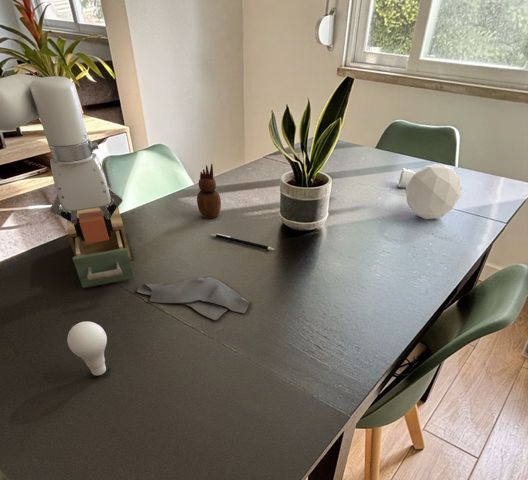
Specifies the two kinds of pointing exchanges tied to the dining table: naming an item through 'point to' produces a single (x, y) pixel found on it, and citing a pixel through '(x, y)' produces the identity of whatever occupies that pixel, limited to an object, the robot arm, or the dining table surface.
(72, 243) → the cabinet
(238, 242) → the pen
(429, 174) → the geometric sphere
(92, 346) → the lightbulb
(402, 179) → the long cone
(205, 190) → the wooden figurine
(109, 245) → the drawer
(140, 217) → the dining table surface
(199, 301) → the cloth
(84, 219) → the block
